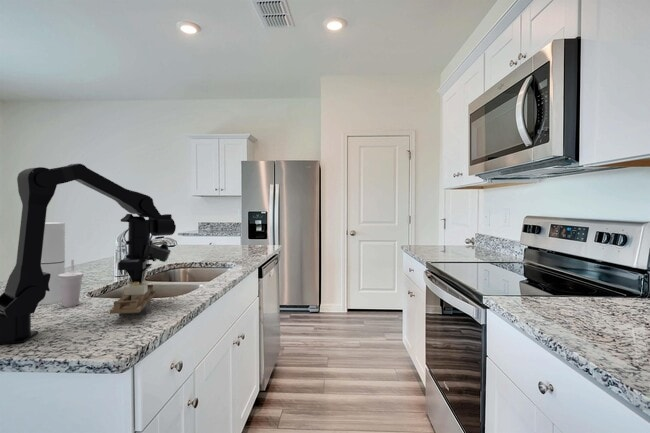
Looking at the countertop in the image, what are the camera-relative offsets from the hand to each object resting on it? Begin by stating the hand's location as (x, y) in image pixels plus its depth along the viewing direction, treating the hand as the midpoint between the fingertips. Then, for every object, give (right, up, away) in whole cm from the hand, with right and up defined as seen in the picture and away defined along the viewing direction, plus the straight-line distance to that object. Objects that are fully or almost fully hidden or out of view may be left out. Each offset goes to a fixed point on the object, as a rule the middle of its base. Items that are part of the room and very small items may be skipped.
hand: (138, 288), depth 103 cm
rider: (+1, -2, -3) cm, 4 cm away
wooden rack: (+1, -6, -4) cm, 7 cm away
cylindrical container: (-32, -6, +7) cm, 33 cm away
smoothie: (-22, -6, +3) cm, 23 cm away
